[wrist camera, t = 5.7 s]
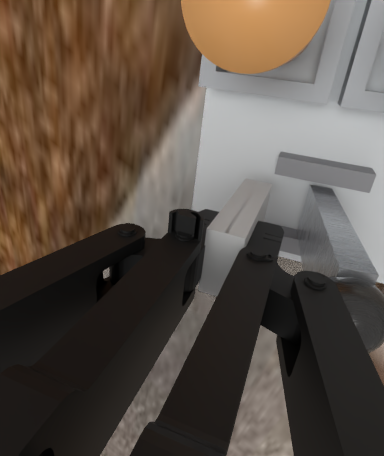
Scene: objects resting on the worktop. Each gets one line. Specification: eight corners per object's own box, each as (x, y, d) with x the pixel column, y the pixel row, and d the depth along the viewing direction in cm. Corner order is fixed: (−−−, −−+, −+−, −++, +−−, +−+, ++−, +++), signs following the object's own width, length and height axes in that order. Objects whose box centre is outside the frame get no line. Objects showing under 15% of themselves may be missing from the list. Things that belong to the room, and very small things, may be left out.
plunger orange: (213, 68, 16) (174, 65, 12) (228, -53, 14) (189, -113, 10) (312, 81, 15) (310, 82, 10) (345, -50, 13) (359, -115, 8)
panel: (197, 222, 25) (175, 248, 22) (238, -84, 18) (215, -130, 14) (413, 276, 22) (433, 319, 18) (588, -81, 14) (694, -143, 10)
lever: (284, 229, 20) (297, 366, 11) (297, 182, 19) (324, 291, 9) (329, 237, 20) (382, 387, 10) (344, 190, 18) (422, 312, 9)
